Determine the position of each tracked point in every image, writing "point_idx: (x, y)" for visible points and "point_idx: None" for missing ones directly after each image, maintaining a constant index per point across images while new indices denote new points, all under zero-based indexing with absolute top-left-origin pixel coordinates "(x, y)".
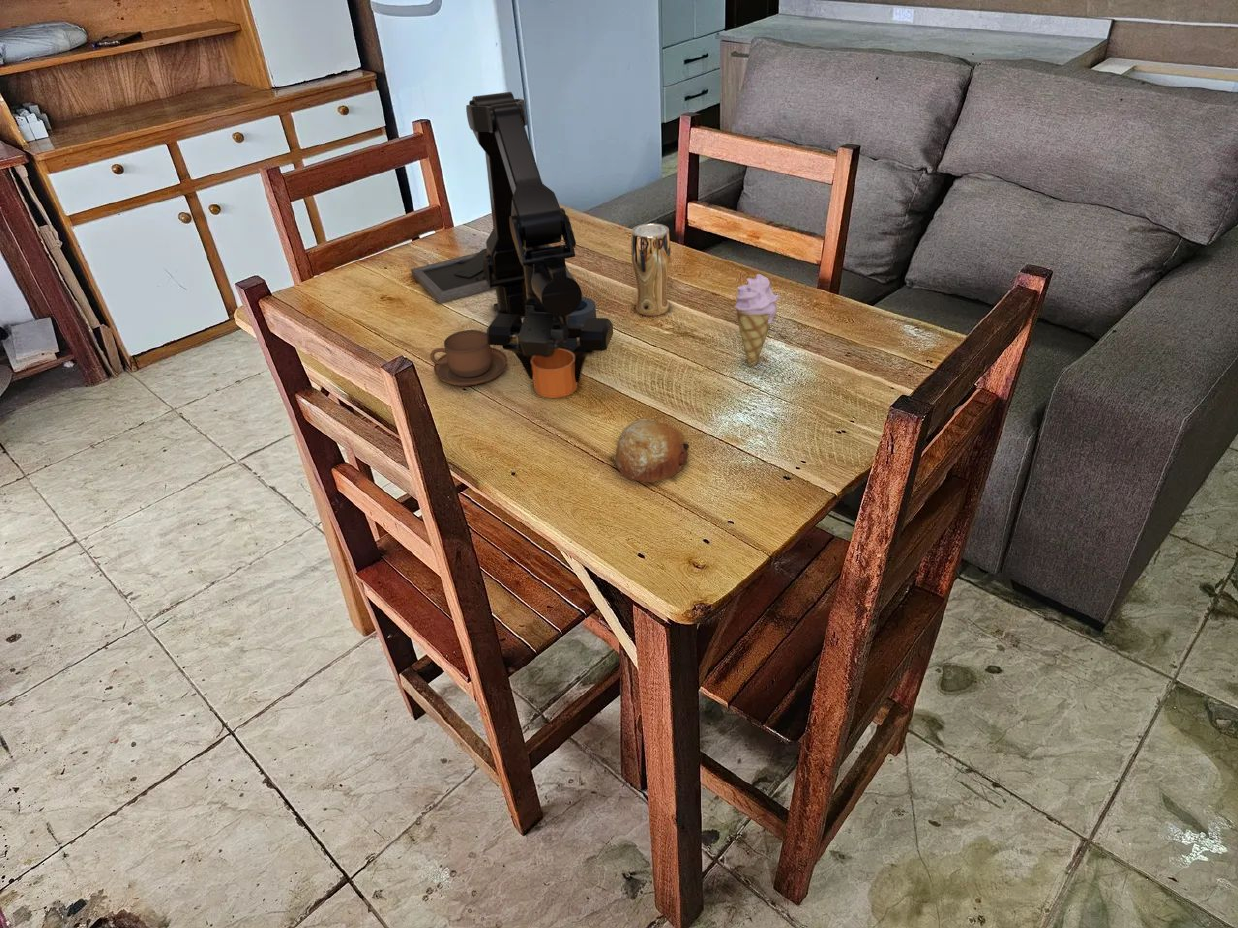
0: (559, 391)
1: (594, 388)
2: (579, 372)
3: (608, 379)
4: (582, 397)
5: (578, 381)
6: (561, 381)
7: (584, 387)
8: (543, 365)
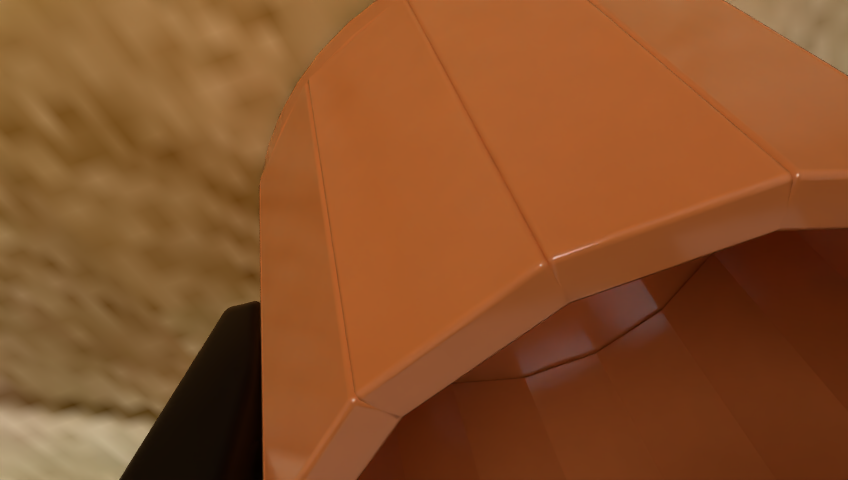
0: (380, 39)
1: (76, 317)
2: (154, 439)
3: (60, 470)
4: (73, 111)
5: (221, 316)
6: (364, 155)
7: (199, 294)
8: (753, 390)
